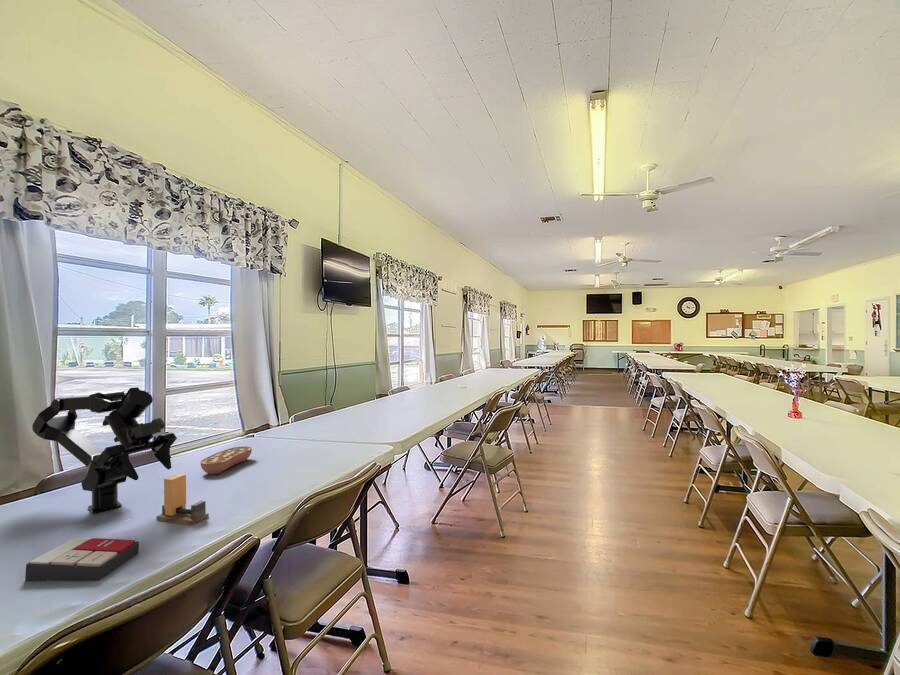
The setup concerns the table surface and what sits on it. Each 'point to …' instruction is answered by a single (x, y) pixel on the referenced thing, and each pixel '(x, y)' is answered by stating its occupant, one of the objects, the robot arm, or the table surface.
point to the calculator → (82, 560)
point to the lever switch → (186, 514)
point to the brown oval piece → (225, 459)
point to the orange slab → (174, 493)
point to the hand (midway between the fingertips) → (154, 473)
